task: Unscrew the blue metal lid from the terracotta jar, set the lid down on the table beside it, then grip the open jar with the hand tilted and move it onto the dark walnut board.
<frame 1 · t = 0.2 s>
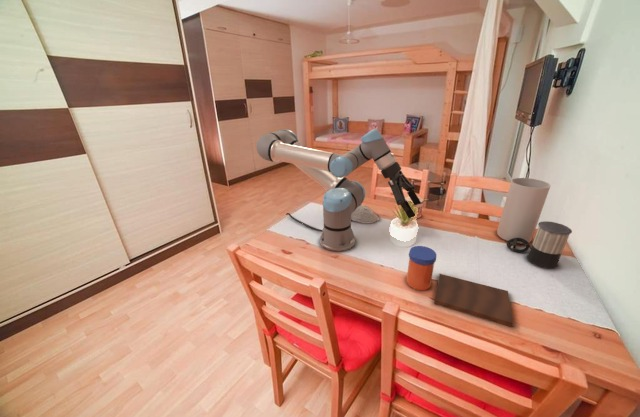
hand: (415, 210, 107), 15 cm above the table, tool tilted 35°, fingers open, 13 cm apart
jar: (418, 282, 90), on the table
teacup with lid: (413, 214, 138), on the table
jar lid: (422, 253, 85), point 12 cm above the table, screwed on, not yet turned
grey speckled mound: (356, 215, 139), on the table
cylinder vase: (513, 237, 114), on the table
milk frother: (529, 256, 102), on the table
board: (471, 298, 82), on the table
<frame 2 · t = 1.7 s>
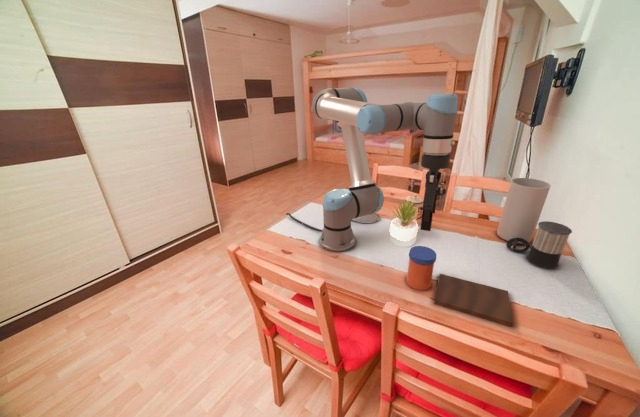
hand: (428, 220, 82), 23 cm above the table, tool pointing down, fingers open, 13 cm apart
nothing on the table moved.
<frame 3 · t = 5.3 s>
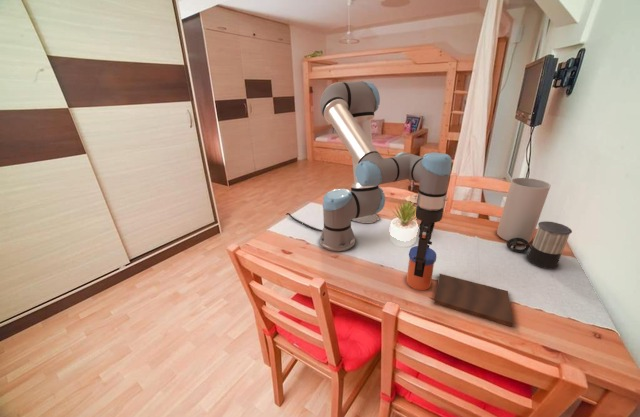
hand: (420, 267, 88), 6 cm above the table, tool pointing down, fingers closed on jar lid, 8 cm apart
jar lid: (422, 253, 85), point 12 cm above the table, screwed on, not yet turned, touching gripper
everything else where it was.
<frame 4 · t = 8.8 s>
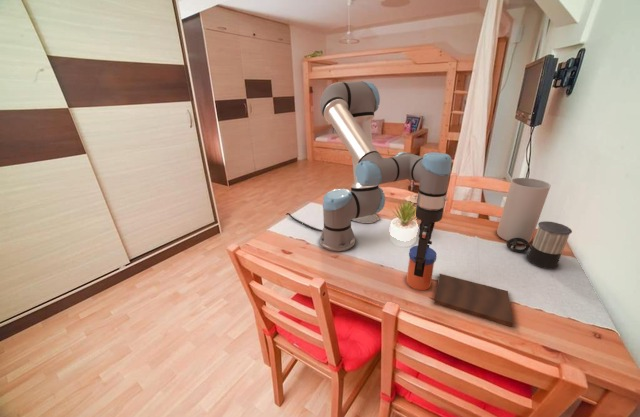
hand: (420, 267, 88), 6 cm above the table, tool pointing down, fingers closed on jar lid, 8 cm apart
jar lid: (422, 253, 85), point 12 cm above the table, turned 131° so far, risen 0.2 cm, still on its thread, touching gripper
everything else where it was.
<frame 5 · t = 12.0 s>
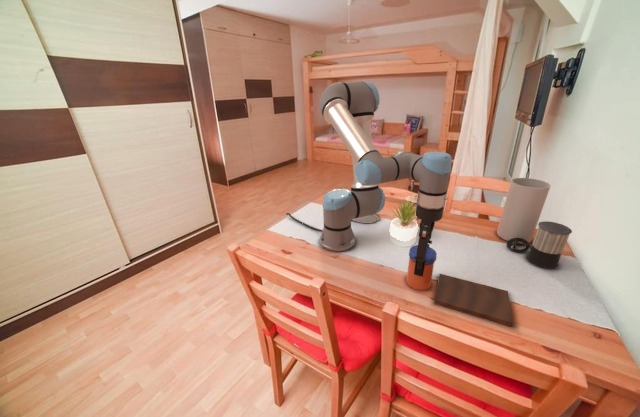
hand: (420, 267, 87), 6 cm above the table, tool pointing down, fingers closed on jar lid, 8 cm apart
jar lid: (422, 253, 85), point 12 cm above the table, turned 261° so far, risen 0.4 cm, still on its thread, touching gripper
everything else where it was.
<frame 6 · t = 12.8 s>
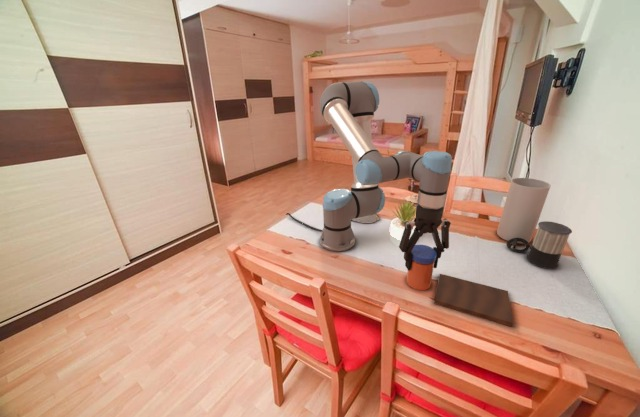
hand: (420, 266, 87), 7 cm above the table, tool pointing down, fingers closed on jar lid, 8 cm apart
jar lid: (422, 252, 85), point 12 cm above the table, off its thread, touching gripper
everything else where it was.
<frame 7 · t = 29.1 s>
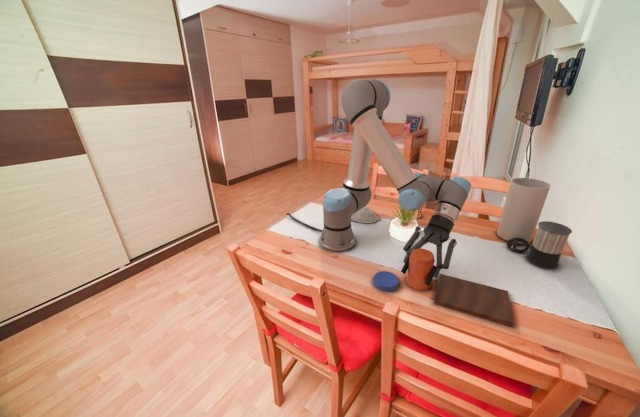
hand: (414, 278, 86), 4 cm above the table, tool tilted 45°, fingers closed on jar, 8 cm apart
jar: (418, 282, 90), on the table, touching gripper
jar lid: (386, 279, 90), point 1 cm above the table, off its thread
everything else where it was.
when the fingers open (5 cm above the table, at t = 36.2 s): jar stays where it is, resting on board.
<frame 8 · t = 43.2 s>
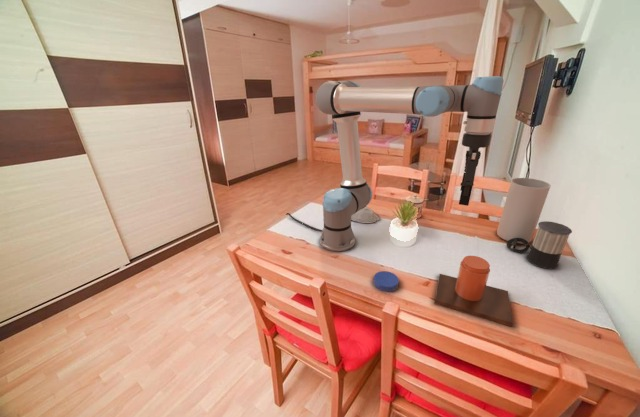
hand: (464, 197, 89), 27 cm above the table, tool pointing down, fingers open, 13 cm apart
jar: (468, 292, 83), point 1 cm above the table, touching board
everything else where it was.
at the end: jar lid inside the target area (0.2 cm from its centre), point 1.5 cm above the table; the gripper is holding nothing; jar inside the target area on the board (1.5 cm from its centre), point 1.5 cm above the board's base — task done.
